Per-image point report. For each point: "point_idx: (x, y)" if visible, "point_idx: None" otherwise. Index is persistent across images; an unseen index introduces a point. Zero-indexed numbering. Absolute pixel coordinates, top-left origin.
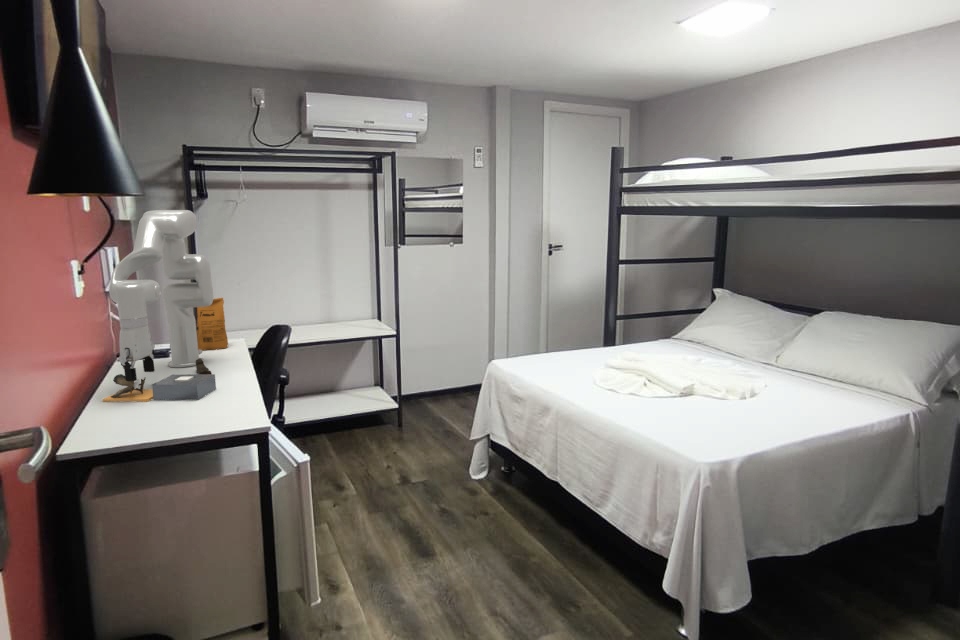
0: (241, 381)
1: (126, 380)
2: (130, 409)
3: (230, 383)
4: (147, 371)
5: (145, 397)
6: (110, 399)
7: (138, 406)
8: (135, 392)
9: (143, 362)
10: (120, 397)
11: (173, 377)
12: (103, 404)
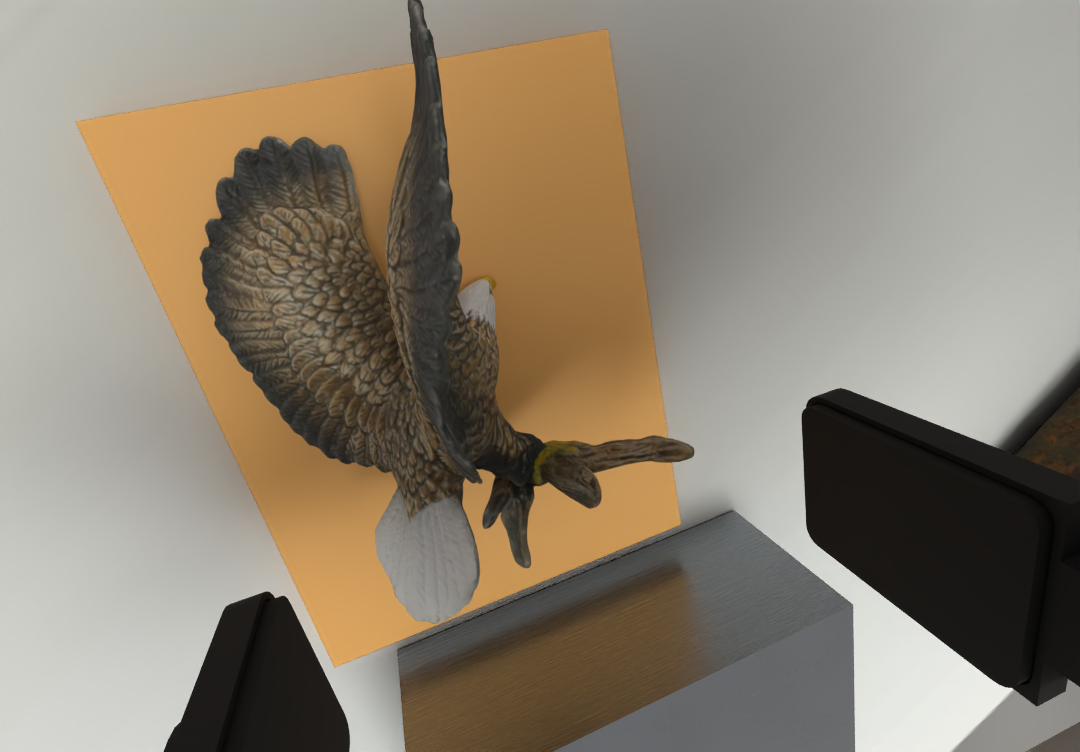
0: (919, 746)
1: (235, 612)
2: (32, 738)
3: (881, 730)
4: (809, 458)
5: (381, 596)
6: (141, 256)
7: (164, 710)
8: (516, 318)
9: (984, 498)
10: None
11: (743, 724)
12: (9, 251)
